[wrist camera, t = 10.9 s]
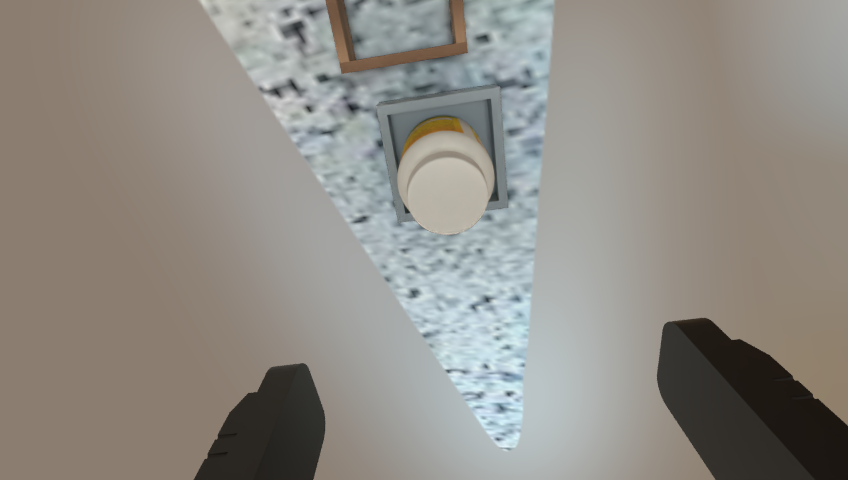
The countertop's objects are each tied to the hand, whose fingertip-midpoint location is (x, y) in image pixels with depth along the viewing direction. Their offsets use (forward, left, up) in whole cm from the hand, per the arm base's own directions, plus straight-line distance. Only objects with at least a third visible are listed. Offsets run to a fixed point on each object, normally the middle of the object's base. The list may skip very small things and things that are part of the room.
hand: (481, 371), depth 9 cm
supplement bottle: (0, 0, -21) cm, 21 cm away
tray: (0, 0, -22) cm, 22 cm away
